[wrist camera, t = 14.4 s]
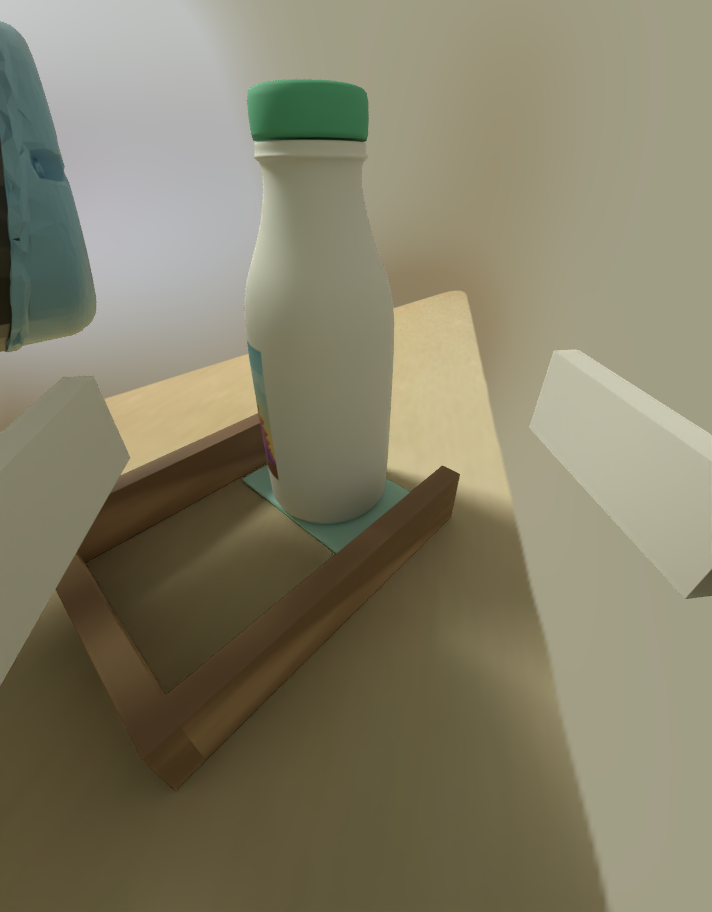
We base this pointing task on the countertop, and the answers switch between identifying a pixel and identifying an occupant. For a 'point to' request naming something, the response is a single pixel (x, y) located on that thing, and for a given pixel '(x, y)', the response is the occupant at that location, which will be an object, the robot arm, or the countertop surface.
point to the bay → (263, 642)
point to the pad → (339, 532)
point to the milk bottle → (318, 303)
